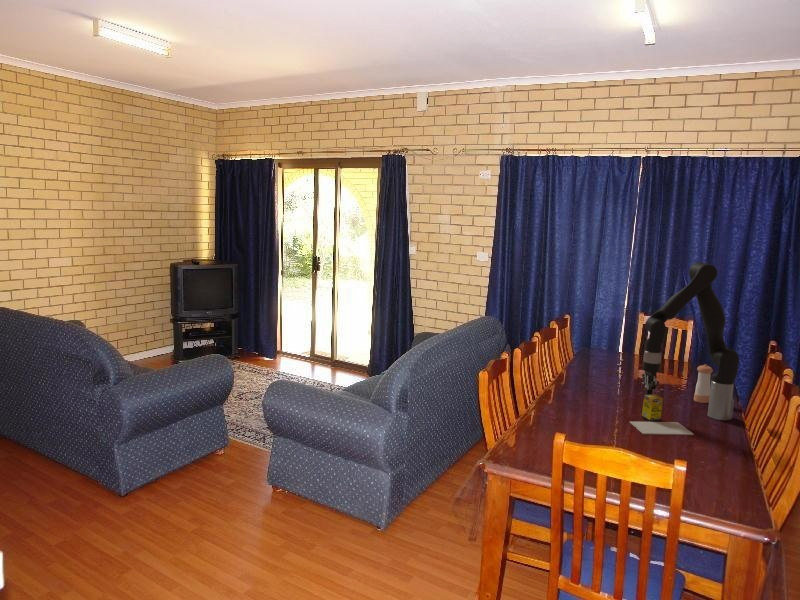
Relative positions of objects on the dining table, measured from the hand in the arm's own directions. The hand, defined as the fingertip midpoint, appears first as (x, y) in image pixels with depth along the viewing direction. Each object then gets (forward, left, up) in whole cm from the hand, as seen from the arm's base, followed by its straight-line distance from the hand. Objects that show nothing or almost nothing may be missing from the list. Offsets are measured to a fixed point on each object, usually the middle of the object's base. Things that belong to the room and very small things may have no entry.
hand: (648, 396), depth 268 cm
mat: (+1, +17, -9) cm, 19 cm away
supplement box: (0, +5, -9) cm, 10 cm away
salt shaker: (-39, -23, -10) cm, 46 cm away
